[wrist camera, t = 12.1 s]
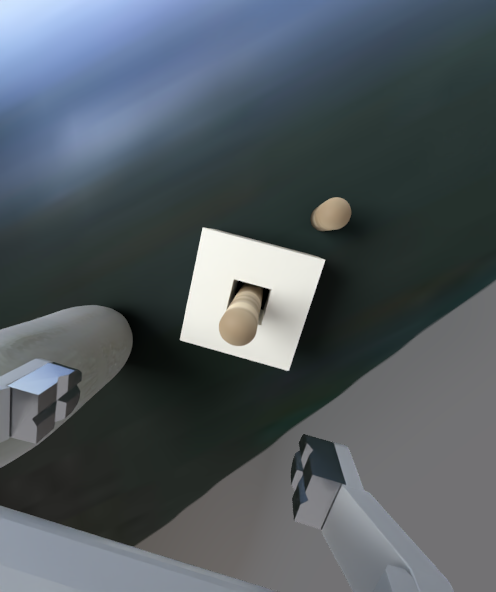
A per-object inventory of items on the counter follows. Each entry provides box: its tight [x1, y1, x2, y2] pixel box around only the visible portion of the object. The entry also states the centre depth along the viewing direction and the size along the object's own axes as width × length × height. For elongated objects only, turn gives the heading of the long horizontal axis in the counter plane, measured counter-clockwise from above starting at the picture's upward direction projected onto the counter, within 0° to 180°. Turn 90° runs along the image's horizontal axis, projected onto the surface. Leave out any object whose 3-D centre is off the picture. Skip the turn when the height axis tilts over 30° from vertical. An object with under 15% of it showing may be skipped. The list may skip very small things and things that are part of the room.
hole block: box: [180, 228, 325, 371], centre depth 31 cm, size 13×13×6 cm
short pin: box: [311, 197, 351, 231], centre depth 28 cm, size 3×3×6 cm
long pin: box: [219, 282, 263, 346], centre depth 27 cm, size 3×3×14 cm
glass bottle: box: [0, 305, 133, 468], centre depth 23 cm, size 10×10×28 cm
